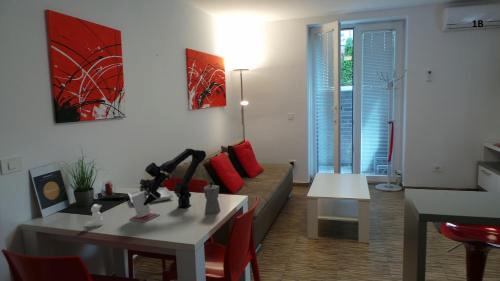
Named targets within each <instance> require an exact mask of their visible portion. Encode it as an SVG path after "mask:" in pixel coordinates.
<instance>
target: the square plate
mask: <svg viewBox="0 0 500 281" xmlns="http://www.w3.org/2000/svg"><path fill="white" fill-rule="evenodd" d="M139 192H140V190H135V191H128V192H127V195H128V197H129V200H130V204H132V205H134V204H133V201H132V198H131V197H132V195H133V194H136V193H139ZM157 192H159V193H160V194H161V197H160V198H159V199H158V198H157V199H156V200H154V201H152V202H150V203H156V202H162V201H167V200H171V199H172V198H173V197H174V194H173V193H172V192H171V191H170V190H169V189H168V188H167V187H161V188H160V187H159V189H158V190H157ZM147 194H148V193H147ZM150 194H151V193H150ZM147 197H148V196H147ZM150 203H149V204H150Z"/></svg>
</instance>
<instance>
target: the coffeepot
mask: <svg viewBox="0 0 500 281" xmlns="http://www.w3.org/2000/svg"><path fill="white" fill-rule="evenodd" d="M202 188H203V193H204V199H206V202H205V208H204V213H205V214H208V215H215V214H218V213H220V212H221V207H220V203H219V200H218V198H219V193H220V186H219V185H216V184H215V185H214V184H213V182H212V181H210V182H209V183H208V185H205V186H204V187H202Z"/></svg>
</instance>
